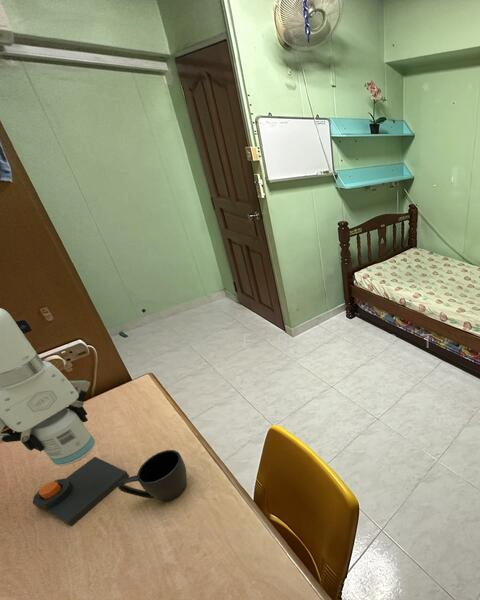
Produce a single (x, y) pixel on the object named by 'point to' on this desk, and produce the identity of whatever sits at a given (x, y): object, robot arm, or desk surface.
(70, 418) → the white supplement bottle
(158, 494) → the mug
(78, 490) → the scale
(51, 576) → the desk surface
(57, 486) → the button
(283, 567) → the desk surface
